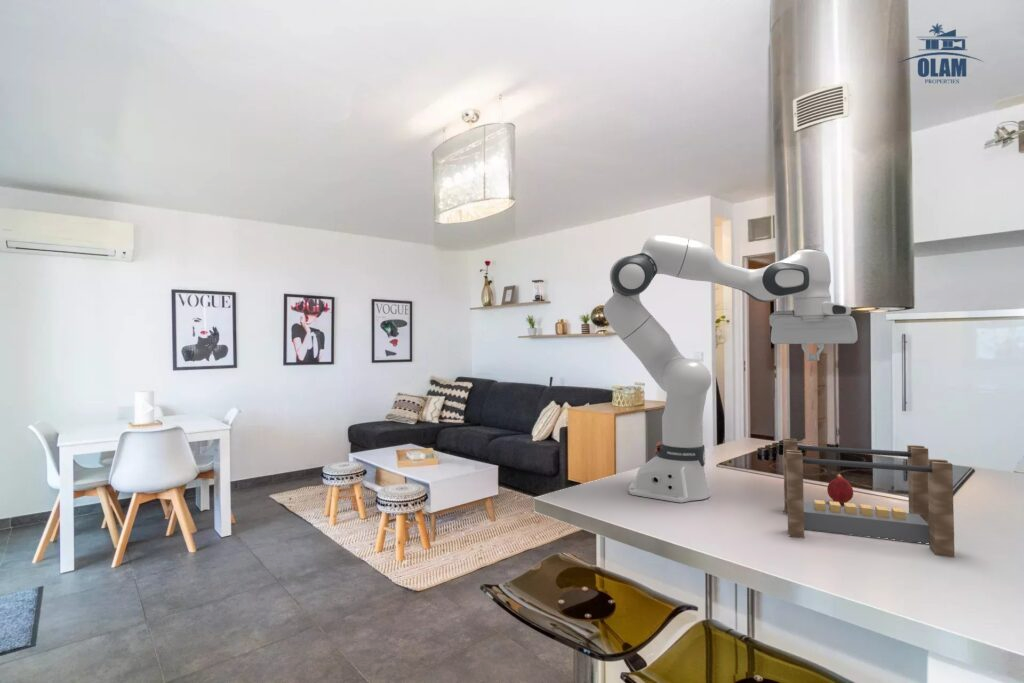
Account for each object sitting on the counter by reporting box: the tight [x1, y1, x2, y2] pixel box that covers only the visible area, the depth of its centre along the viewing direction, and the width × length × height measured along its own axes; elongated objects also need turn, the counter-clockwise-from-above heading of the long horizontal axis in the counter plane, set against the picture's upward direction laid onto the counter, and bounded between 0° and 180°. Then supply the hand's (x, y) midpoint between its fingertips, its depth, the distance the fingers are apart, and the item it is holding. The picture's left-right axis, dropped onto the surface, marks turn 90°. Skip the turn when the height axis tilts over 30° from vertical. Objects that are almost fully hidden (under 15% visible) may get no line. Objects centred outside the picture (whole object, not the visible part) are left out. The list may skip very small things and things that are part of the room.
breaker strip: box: [804, 499, 930, 545], centre depth 118 cm, size 24×8×6 cm, turn 65°
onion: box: [826, 473, 854, 506], centre depth 136 cm, size 6×6×8 cm
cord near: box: [803, 457, 932, 473], centre depth 110 cm, size 28×1×1 cm, turn 65°
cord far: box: [797, 444, 911, 458], centre depth 125 cm, size 28×1×1 cm, turn 65°
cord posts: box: [782, 437, 955, 558], centre depth 118 cm, size 29×20×18 cm
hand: (812, 360), depth 139 cm, fingers closed
